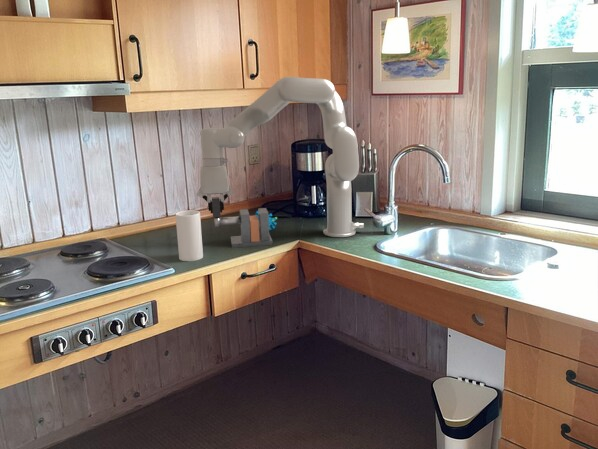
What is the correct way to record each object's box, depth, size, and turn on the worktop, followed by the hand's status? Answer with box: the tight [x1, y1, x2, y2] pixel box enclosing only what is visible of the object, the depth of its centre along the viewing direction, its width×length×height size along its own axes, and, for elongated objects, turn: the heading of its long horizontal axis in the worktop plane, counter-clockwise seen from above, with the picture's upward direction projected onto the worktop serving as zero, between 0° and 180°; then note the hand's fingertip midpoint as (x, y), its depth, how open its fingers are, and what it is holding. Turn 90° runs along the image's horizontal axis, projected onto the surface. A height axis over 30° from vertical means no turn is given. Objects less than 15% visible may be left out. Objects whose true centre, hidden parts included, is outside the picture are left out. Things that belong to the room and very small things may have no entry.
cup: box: [175, 209, 204, 262], centre depth 191 cm, size 8×8×16 cm
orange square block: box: [249, 214, 259, 242], centre depth 207 cm, size 3×8×8 cm, turn 9°
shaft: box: [211, 196, 241, 228], centre depth 204 cm, size 12×4×11 cm, turn 99°
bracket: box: [230, 207, 274, 249], centre depth 207 cm, size 15×10×12 cm, turn 99°
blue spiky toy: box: [255, 210, 278, 232], centre depth 227 cm, size 11×6×10 cm
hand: (216, 211), depth 203 cm, fingers closed on shaft, 2 cm apart
